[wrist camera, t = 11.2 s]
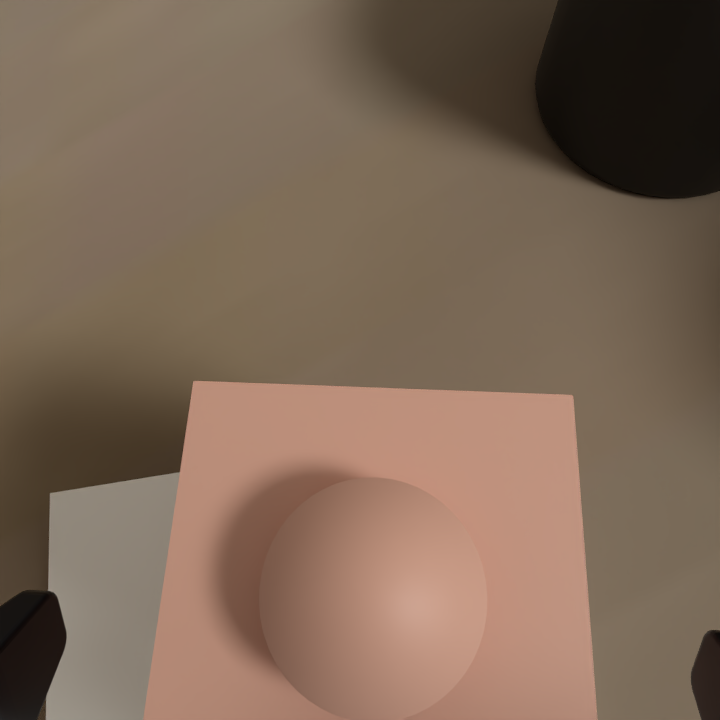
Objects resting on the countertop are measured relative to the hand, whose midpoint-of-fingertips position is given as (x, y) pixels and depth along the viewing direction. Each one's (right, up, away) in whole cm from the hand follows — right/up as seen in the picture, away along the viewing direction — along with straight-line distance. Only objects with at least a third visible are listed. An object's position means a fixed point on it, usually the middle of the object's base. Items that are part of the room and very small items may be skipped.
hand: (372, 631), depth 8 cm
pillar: (0, -2, +8) cm, 8 cm away
